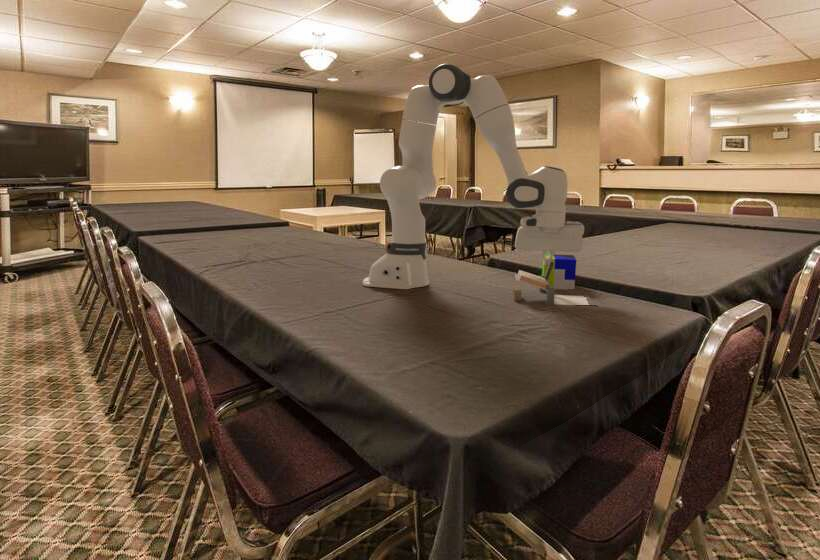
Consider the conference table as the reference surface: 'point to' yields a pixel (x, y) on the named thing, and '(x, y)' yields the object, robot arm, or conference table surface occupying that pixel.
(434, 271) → the conference table surface
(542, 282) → the tile
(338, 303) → the conference table surface
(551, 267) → the flipper
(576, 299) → the mat
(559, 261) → the puzzle toy
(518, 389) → the conference table surface
